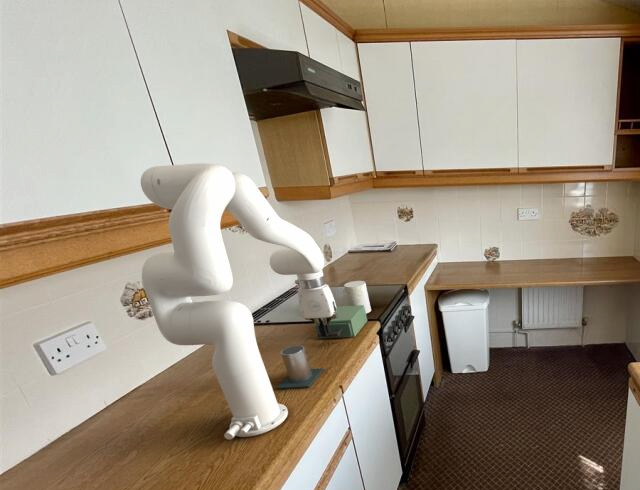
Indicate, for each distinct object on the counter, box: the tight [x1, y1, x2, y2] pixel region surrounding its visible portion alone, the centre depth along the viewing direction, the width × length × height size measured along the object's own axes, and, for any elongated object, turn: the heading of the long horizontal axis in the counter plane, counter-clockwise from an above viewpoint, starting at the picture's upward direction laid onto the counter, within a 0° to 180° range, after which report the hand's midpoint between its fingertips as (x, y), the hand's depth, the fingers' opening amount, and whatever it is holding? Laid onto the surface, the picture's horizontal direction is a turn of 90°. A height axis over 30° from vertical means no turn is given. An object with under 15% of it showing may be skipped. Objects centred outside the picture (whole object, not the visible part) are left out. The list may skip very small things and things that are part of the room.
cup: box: [343, 280, 372, 315], centre depth 166 cm, size 8×8×12 cm
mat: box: [276, 368, 324, 390], centre depth 119 cm, size 10×9×1 cm
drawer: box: [314, 322, 353, 339], centre depth 147 cm, size 18×12×5 cm, turn 1°
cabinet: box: [313, 305, 368, 340], centre depth 150 cm, size 15×13×7 cm
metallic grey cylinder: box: [280, 344, 312, 383], centre depth 117 cm, size 6×6×9 cm
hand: (326, 334), depth 137 cm, fingers closed
